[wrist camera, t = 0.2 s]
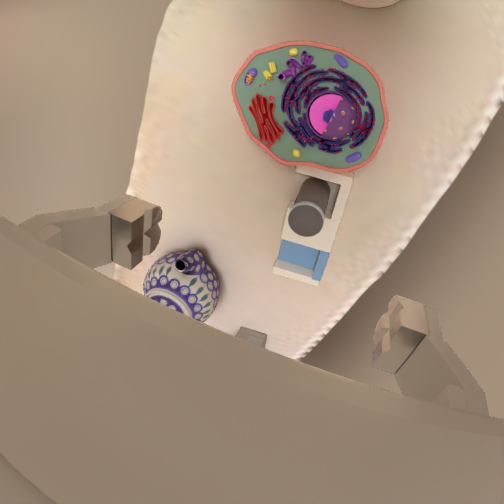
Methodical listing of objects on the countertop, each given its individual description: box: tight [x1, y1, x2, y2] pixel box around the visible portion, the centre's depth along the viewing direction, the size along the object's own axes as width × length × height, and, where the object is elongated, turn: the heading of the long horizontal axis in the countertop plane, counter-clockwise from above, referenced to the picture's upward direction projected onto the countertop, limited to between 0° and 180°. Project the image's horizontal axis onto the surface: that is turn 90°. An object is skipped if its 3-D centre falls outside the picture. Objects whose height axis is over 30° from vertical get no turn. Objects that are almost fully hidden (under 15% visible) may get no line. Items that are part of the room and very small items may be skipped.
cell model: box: [232, 41, 389, 172], centre depth 37 cm, size 17×20×11 cm
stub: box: [288, 177, 330, 237], centre depth 44 cm, size 5×5×11 cm
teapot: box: [143, 249, 219, 323], centre depth 61 cm, size 25×15×15 cm, turn 156°
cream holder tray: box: [273, 166, 354, 286], centre depth 51 cm, size 21×8×3 cm, turn 171°
